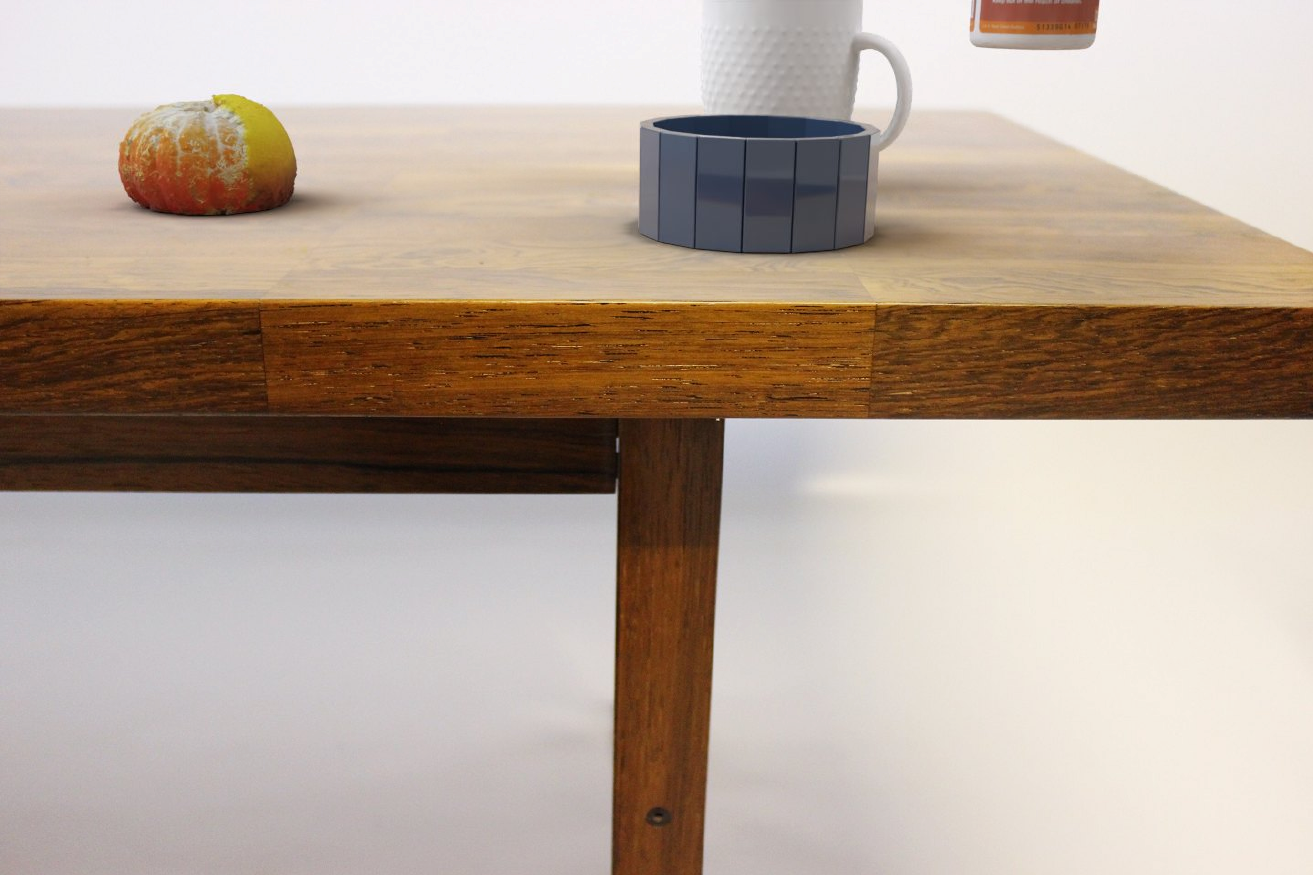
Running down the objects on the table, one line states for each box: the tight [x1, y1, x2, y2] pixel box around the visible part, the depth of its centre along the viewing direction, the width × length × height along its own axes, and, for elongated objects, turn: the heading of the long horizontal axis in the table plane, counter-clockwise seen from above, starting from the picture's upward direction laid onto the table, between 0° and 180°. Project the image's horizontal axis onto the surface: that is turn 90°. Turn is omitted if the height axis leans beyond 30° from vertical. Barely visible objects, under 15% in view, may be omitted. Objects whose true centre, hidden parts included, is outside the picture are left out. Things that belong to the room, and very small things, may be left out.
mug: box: [700, 0, 913, 153], centre depth 94 cm, size 15×11×13 cm
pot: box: [637, 113, 882, 254], centre depth 78 cm, size 14×14×6 cm
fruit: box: [117, 93, 298, 216], centre depth 84 cm, size 11×10×8 cm
